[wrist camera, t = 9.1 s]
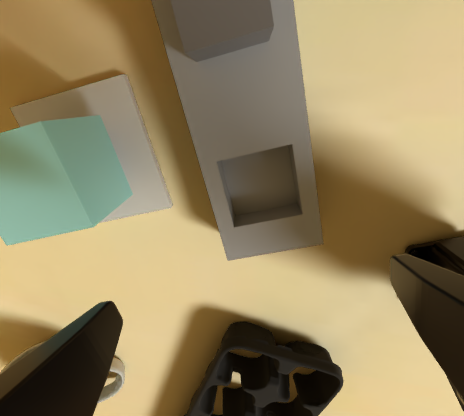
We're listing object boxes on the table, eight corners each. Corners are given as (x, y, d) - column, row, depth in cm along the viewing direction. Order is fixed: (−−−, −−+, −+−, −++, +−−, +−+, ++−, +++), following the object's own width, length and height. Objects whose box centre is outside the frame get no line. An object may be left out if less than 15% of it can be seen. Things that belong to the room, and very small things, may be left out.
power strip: (311, 222, 21) (337, 270, 15) (230, 237, 22) (224, 287, 16) (267, -100, 14) (282, -248, 8) (149, -56, 15) (84, -159, 9)
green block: (142, 186, 20) (93, 227, 14) (80, 200, 21) (6, 245, 15) (113, 113, 18) (40, 121, 12) (45, 132, 19) (-57, 149, 13)
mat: (172, 205, 21) (170, 207, 21) (78, 225, 23) (73, 228, 22) (126, 74, 18) (122, 74, 17) (16, 107, 19) (9, 107, 18)
